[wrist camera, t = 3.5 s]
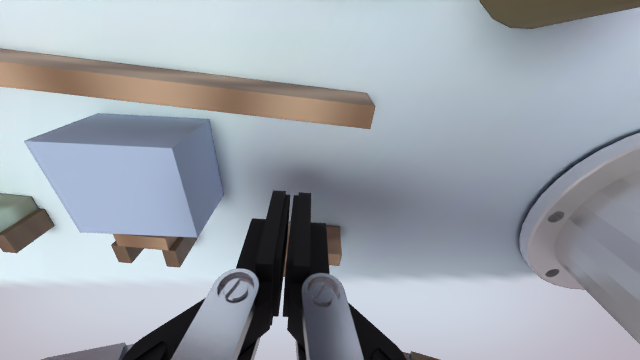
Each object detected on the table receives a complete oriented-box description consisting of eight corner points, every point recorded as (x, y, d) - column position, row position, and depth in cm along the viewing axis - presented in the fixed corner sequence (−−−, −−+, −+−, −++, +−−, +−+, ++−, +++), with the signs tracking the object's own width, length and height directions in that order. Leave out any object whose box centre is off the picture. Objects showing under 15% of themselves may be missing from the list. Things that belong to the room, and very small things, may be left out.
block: (210, 118, 14) (171, 148, 10) (224, 193, 16) (197, 237, 13) (99, 112, 14) (23, 140, 10) (131, 189, 16) (79, 232, 13)
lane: (366, 93, 13) (379, 113, 10) (334, 252, 19) (336, 295, 16) (-154, 29, 12) (-321, 30, 9) (-11, 219, 17) (-81, 259, 14)
